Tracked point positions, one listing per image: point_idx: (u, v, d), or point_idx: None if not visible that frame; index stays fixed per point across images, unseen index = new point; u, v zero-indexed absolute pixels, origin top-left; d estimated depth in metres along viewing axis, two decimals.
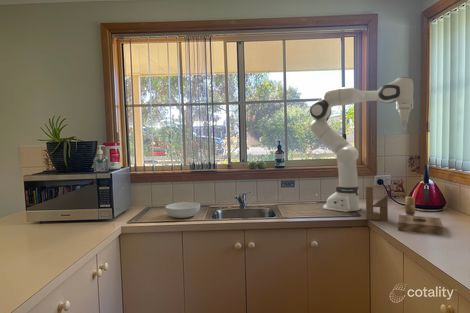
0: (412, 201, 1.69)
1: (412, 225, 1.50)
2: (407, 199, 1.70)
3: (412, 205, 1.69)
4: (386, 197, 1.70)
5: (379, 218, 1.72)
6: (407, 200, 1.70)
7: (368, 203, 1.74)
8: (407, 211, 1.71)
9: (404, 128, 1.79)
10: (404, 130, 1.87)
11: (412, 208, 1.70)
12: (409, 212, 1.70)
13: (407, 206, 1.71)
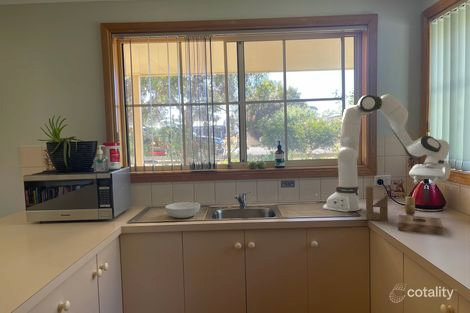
0: (412, 201, 1.69)
1: (412, 225, 1.50)
2: (407, 199, 1.70)
3: (412, 205, 1.69)
4: (386, 197, 1.70)
5: (379, 218, 1.72)
6: (407, 200, 1.70)
7: (368, 203, 1.74)
8: (407, 211, 1.71)
9: (434, 183, 1.73)
10: (416, 183, 1.81)
11: (412, 208, 1.70)
12: (409, 212, 1.70)
13: (407, 206, 1.71)
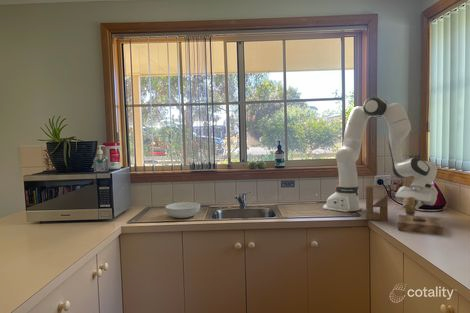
0: (412, 201, 1.69)
1: (412, 225, 1.50)
2: (407, 199, 1.70)
3: (412, 205, 1.69)
4: (386, 197, 1.70)
5: (379, 218, 1.72)
6: (407, 200, 1.70)
7: (368, 203, 1.74)
8: (407, 211, 1.71)
9: (417, 207, 1.69)
10: None
11: (412, 208, 1.70)
12: (409, 212, 1.70)
13: (407, 206, 1.71)
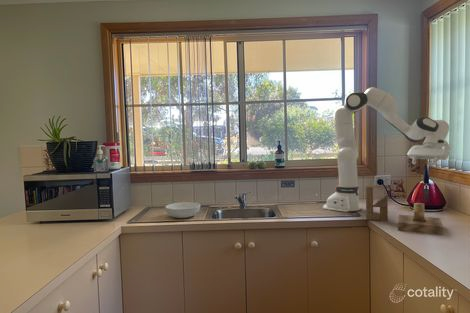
0: (421, 208, 1.54)
1: (412, 225, 1.50)
2: (416, 206, 1.55)
3: (421, 212, 1.54)
4: (386, 197, 1.70)
5: (379, 218, 1.72)
6: (416, 207, 1.55)
7: (368, 203, 1.74)
8: (416, 219, 1.55)
9: (433, 162, 1.69)
10: (414, 163, 1.77)
11: (421, 216, 1.54)
12: (418, 220, 1.54)
13: (416, 213, 1.55)
